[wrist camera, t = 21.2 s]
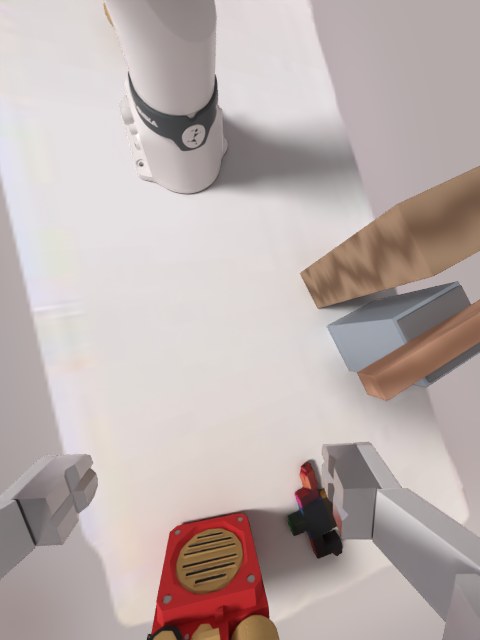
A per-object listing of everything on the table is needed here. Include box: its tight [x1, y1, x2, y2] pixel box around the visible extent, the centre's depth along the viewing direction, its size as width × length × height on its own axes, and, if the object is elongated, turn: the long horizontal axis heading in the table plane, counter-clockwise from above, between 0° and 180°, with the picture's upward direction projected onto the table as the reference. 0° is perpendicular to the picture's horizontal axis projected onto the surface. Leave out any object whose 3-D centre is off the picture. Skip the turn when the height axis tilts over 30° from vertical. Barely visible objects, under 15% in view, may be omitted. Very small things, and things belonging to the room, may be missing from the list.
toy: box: [287, 462, 342, 559], centre depth 42 cm, size 15×16×3 cm
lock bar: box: [357, 300, 480, 401], centre depth 28 cm, size 3×22×3 cm, turn 117°
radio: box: [147, 513, 279, 640], centre depth 30 cm, size 16×10×20 cm, turn 95°
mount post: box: [300, 166, 480, 308], centre depth 36 cm, size 8×12×24 cm, turn 117°
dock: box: [327, 282, 480, 387], centre depth 39 cm, size 10×12×17 cm
